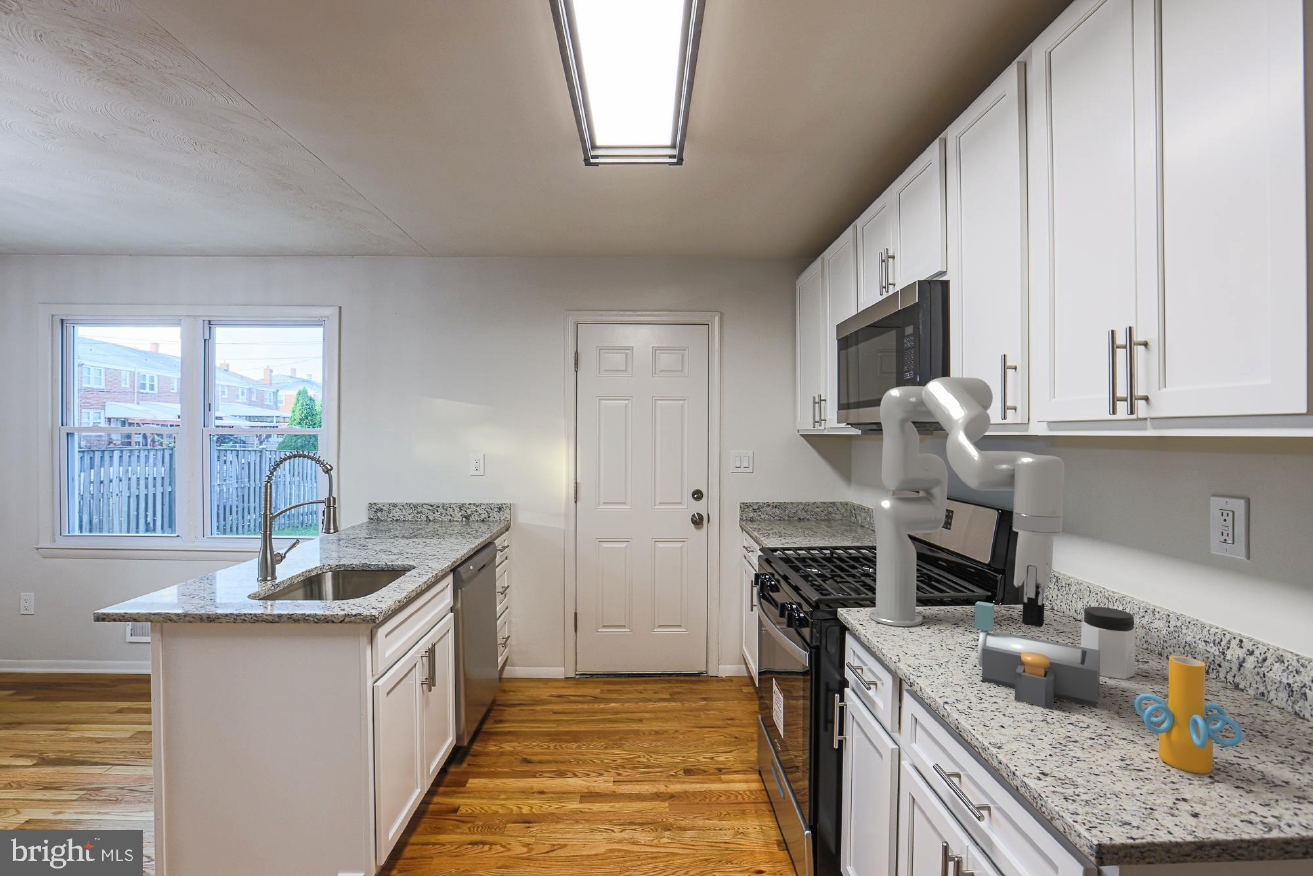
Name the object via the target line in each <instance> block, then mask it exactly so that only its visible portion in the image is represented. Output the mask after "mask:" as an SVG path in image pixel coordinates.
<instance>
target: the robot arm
mask: <svg viewBox="0 0 1313 876" xmlns="http://www.w3.org/2000/svg"><path fill="white" fill-rule="evenodd" d="M993 399H994V398H993V392H992V389H991V387H990V385H989V384H988V383H987V382H986V381H985V380H983V379H982V378H981V379H980V378H977V377H960V376H959V377H955V376H954V377H953V376H945V377H943V376H941V377H938V378H934V379H932V380H930V381H928V383H926V385H925V386H919V385H918V386H917V385H915V386H914V385H913V386H912V385H909V386H908V385H907V386H897V387H894V388H890V389H888V390H887V391H886V392H885V393H884V395H883V397H882V398H881V401H880V406H879V417H880V423H881V426H882V433H883V435H882V436H883V437H882V438H883V439H882V455H881V456H882V457H881V458H882V460H881V481H882V485H883V486H884V487H885V488H886V489H888V490H890V491H894V492H895V491H897V492H898V491H899V492H919V495H889V496H884V497H880V498H879V499H878V500H877V501H875V502H874V505H873V509H872V517H873V523H874V529H875V537H876V538H875V541H876V545H875V546H876V552H875V553H876V555H875V556H876V565H875V566H876V575H875V577H876V578H875V579H876V580H875V581H876V582H875V608H873V609H871V610H870V611H869V614H868V615H869V618H870V619H871V620H873V621H875V622H878V623H880V624H884V625H888V626H894V627H914V626H919V625H922V623H923V617H922V615H920V614H919V613H917V611H916V609H917V608H916V607H917V551H916V547H915V545H914V544H913V541H911V539H910V537H909V534H927V533H928V534H930V533H937V532H938V531H940V530H941V529H942V528H943V526H944V524H945V520H946V514H947V513H946V511H947V496H948V481H949V480H948V479H949V474H948V473H949V472H948V469H947V466H946V463H945V461H944V460H943V459H942V457H940V456H939V455H936V454H934V453H920V435H919V432H918V431H917V428H916V427H915V425H914V424H913V423H912V422H934V423H935V422H936V423H937V422H938V423H939V424H940V425H941V426H942V428H943V429H944V430H945V432H947V434H948V436H947V438H946V439H947V440H946V446H945V447H946V448H945V449H946V450H945V451H946V458H947V460H948V464H949V466H950V467H951V468H952V470H953V472H955V473H956V475H957V476H958V477H959V479H960V480H961V481H962V482H963V483H964V484H965V485H966V486H968V487H969V488H971V489H972V490H975V491H985V492H986V491H988V492H989V491H1007V492H1008V491H1010V492H1011V491H1013V510H1012V511H1013V512H1012V531H1013V532H1017V533H1018V535H1017V541H1016V549H1015V550H1016V551H1015V562H1014V563H1015V564H1014V565H1015V566H1014V578H1013V585H1014V587H1015V588H1019V587H1021V586H1022V585H1024V586H1023V601H1022V614H1021V615H1022V617H1021V618H1022V619H1021V623H1022V624H1023V625H1028V626H1032V627H1036V628H1037V627H1038V628H1042V627H1043V626H1044V624H1045V605H1046V604H1045V602H1044V600H1045V599H1044V598H1045V591H1047V590H1046V589H1047V588H1048V586H1049V583H1050V582H1051V576H1052V575H1051V574H1052V567H1053V566H1052V565H1053V555H1054V537H1055V536H1056V537H1057V536H1061V535H1062V534H1063V533H1062V530H1063V507H1064V485H1065V463H1064V461H1063V459H1062V458H1061V457H1058V456H1055V455H1047V454H1045V455H1044V454H1043V455H1042V454H1035V453H1032V452H1028V451H1021V450H1019V451H1017V450H1016V451H1015V450H1014V451H1011V450H1009V451H1007V450H980V449H979V448H978V447H976V445H975V444H974V443H975V442H977V441H978V440H980V439H981V438H982V437H983V436H985V434H986V433H987V432H988V430H989V428H990V426H991V417H990V414H989V413H988V411H989V409H990V408H991V406H992V403H993Z"/></svg>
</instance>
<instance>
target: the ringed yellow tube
mask: <svg viewBox="0 0 1313 876" xmlns="http://www.w3.org/2000/svg"><path fill="white" fill-rule="evenodd" d="M1167 696H1168V697H1167V703H1166V702H1165V701H1164V700H1163V699H1162V698H1161V697H1159V696H1157V695H1155V694H1153V693H1143V694H1140V695H1138V696H1137V697H1136V699H1135V700H1134V705H1135V706H1134V707H1135V709H1136V712H1137V714H1138V715H1139V716H1140V717H1141V718H1142V719H1143V722H1144V724H1145V727H1146V728H1147V729H1148V730H1149V731H1150V732H1152V733H1154V734H1158V755H1159V758H1160V760H1162V762H1164V763H1165V764H1167V765H1169V766H1170V767H1174V768H1176V769H1177V770H1182V771H1186V772H1189V773H1194V774H1208V773H1211V772H1212V771H1213V767H1214V766H1213V764H1214V763H1213V762H1214V759H1213V758H1214V743H1216V744H1219V745H1221V746H1225V747H1235V746H1237V745H1239V744H1240V743H1241V742H1242V740H1243V738H1244V737H1243V736H1244V733H1243V730H1242V728H1241V726H1240V724H1239V723H1238V722H1236V721H1235V720H1234V719H1233V718H1231V717H1230V716H1228V715H1227V713H1226V711H1225V710H1224V708H1223V707H1222V706H1221V705H1218V704H1216V703H1206V700H1205V699H1206V698H1205V697H1206V663H1205V662H1203V661H1202V660H1200V659H1197V658H1196V659H1195V658H1192V657H1188V656H1187V657H1186V656H1179V655H1171V656H1169V658H1168V695H1167ZM1145 700H1152V701H1154V702H1156V703H1155V704H1152V705H1150V706H1148V707H1147V709H1146V710H1145V711H1144V709H1143V707H1142V703H1143V701H1145ZM1205 703H1206V704H1205ZM1160 710H1161V711H1162V712H1163V713H1162V715H1161V716H1160V717H1154V716H1153V714H1154V713H1155V712H1156V711H1160ZM1211 710H1215V711H1216V712H1217V713H1210V714H1207V713H1208V712H1209V711H1211ZM1206 714H1207V716H1206ZM1152 716H1153V717H1152ZM1216 720H1218V723H1217V724H1216V725H1214V726H1210V725H1211V723H1212V722H1213V721H1216ZM1227 723H1228V724H1229V725H1230V727H1232V728H1233V730H1234V736H1233V738H1232V739H1222V738H1221V737H1218V736H1216V733H1220V732H1221V731H1222V730H1224V728H1225V726H1226V725H1227ZM1153 724H1159V725H1160V724H1161V726H1159V727H1156V726H1154V725H1153Z"/></svg>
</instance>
